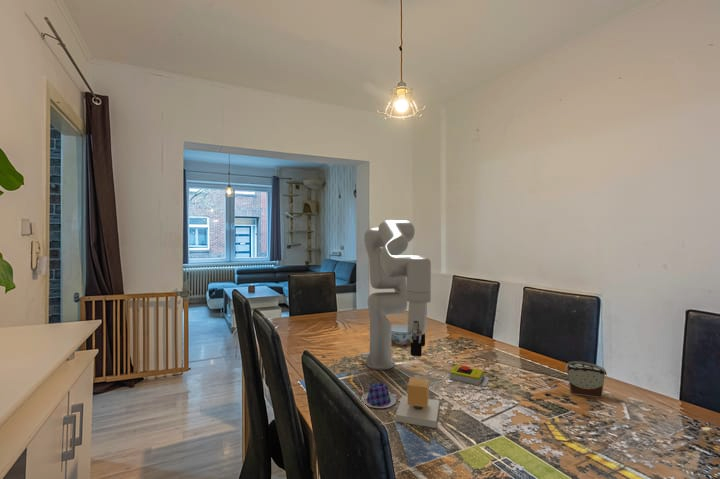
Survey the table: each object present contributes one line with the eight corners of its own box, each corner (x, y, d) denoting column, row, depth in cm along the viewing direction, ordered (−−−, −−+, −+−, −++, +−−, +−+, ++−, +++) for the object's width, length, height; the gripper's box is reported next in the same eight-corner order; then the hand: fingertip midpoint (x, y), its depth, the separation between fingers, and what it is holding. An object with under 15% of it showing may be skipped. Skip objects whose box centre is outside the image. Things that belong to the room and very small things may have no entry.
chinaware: (381, 340, 179) (381, 326, 179) (405, 337, 185) (405, 323, 185) (396, 348, 165) (396, 333, 165) (420, 344, 172) (420, 329, 172)
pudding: (383, 390, 120) (383, 376, 120) (403, 404, 109) (403, 389, 109) (354, 397, 114) (354, 382, 114) (372, 413, 104) (372, 397, 104)
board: (395, 421, 99) (395, 391, 99) (402, 401, 111) (402, 374, 111) (436, 428, 95) (436, 397, 95) (439, 406, 108) (439, 379, 108)
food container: (600, 390, 119) (600, 363, 119) (606, 398, 113) (606, 369, 113) (561, 385, 123) (561, 359, 123) (565, 392, 117) (566, 365, 117)
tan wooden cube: (407, 404, 101) (407, 385, 101) (410, 395, 107) (410, 377, 107) (427, 407, 99) (427, 387, 99) (429, 398, 105) (429, 379, 105)
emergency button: (451, 360, 138) (489, 368, 130) (451, 371, 138) (489, 379, 130) (445, 368, 130) (485, 376, 122) (445, 379, 130) (485, 388, 122)
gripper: (410, 291, 113) (410, 341, 113) (401, 300, 96) (401, 358, 96) (432, 292, 110) (432, 343, 111) (427, 302, 94) (427, 361, 94)
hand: (418, 350), depth 103 cm, fingers open, 9 cm apart
